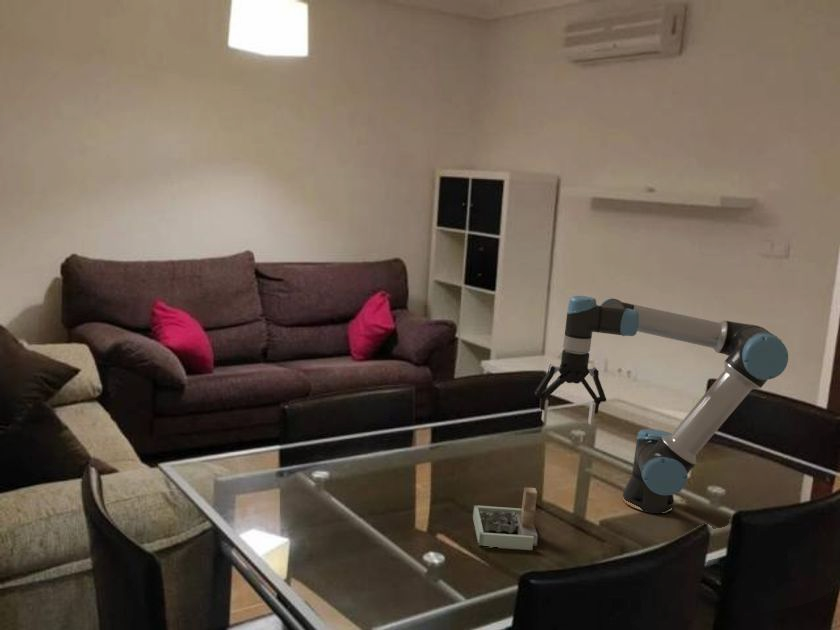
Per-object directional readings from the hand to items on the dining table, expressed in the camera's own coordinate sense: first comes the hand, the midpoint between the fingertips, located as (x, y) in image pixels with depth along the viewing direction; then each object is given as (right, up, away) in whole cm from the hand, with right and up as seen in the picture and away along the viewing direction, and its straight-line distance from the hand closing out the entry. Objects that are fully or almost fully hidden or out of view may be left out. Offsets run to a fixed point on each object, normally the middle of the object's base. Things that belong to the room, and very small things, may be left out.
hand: (567, 422), depth 224 cm
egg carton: (-21, -28, -9) cm, 36 cm away
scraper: (-14, -29, -13) cm, 34 cm away
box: (-20, -28, -13) cm, 37 cm away
